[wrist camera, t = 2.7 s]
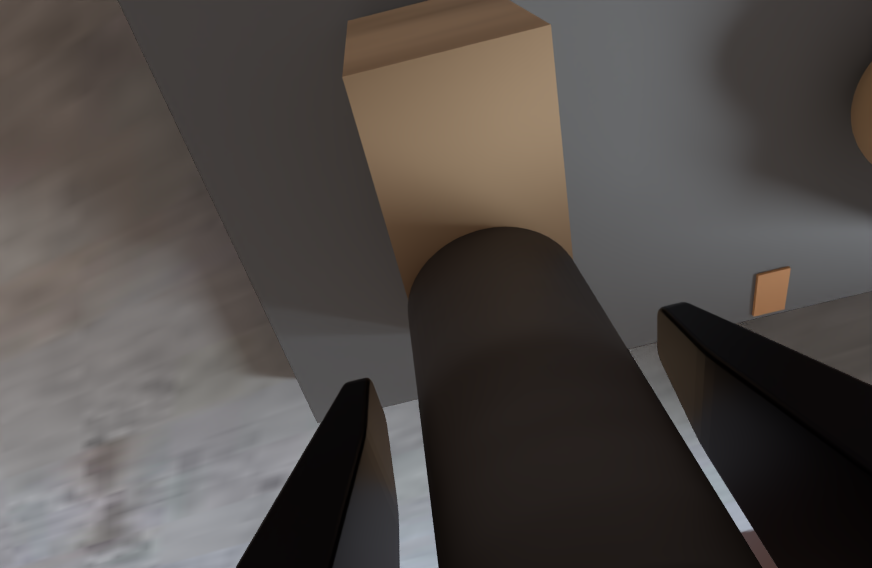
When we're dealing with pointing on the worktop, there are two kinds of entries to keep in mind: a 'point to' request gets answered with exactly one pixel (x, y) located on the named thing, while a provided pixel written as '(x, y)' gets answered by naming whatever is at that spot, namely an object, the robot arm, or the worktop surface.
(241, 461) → the worktop surface
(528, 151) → the lever handle
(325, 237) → the cracker base
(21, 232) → the worktop surface
